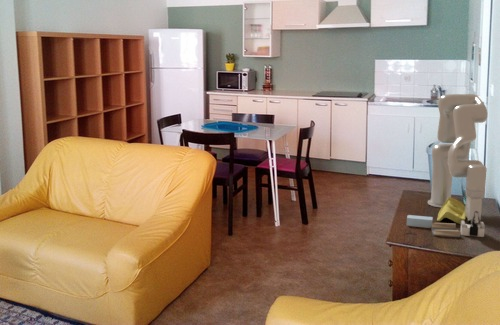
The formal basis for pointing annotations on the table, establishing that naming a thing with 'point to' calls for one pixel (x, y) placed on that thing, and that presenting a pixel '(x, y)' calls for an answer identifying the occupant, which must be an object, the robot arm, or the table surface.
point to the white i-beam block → (466, 229)
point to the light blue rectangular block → (419, 221)
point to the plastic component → (452, 211)
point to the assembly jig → (445, 230)
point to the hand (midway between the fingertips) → (472, 232)
